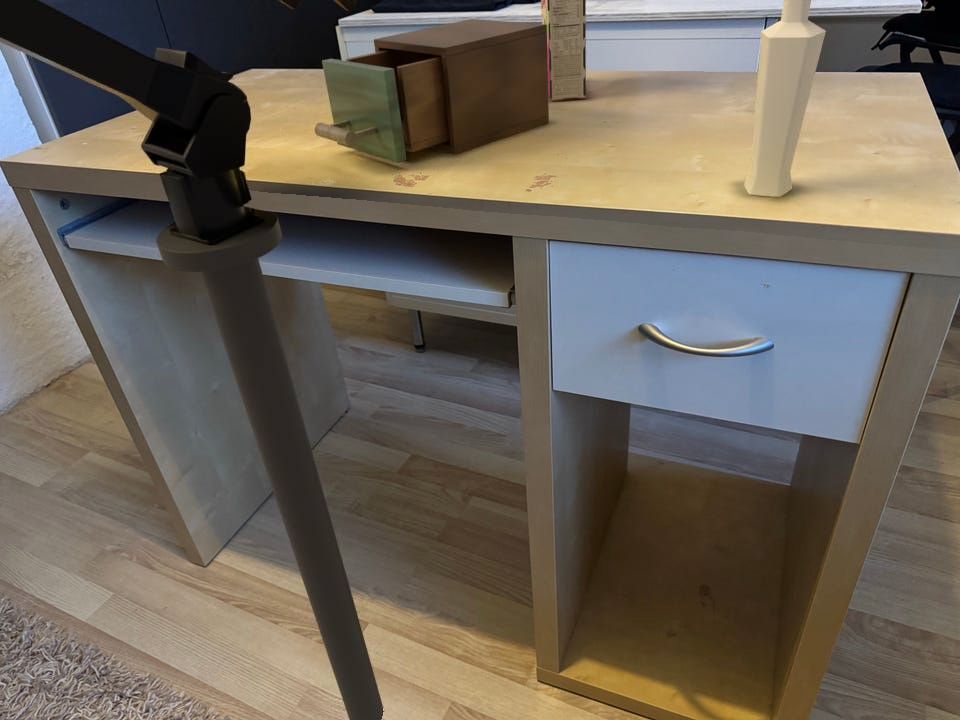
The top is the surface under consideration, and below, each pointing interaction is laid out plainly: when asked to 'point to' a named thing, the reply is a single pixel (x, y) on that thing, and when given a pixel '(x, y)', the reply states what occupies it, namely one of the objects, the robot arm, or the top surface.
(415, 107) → the drawer
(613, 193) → the top surface
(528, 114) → the cabinet
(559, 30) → the candy bar box
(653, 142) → the top surface
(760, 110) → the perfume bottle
